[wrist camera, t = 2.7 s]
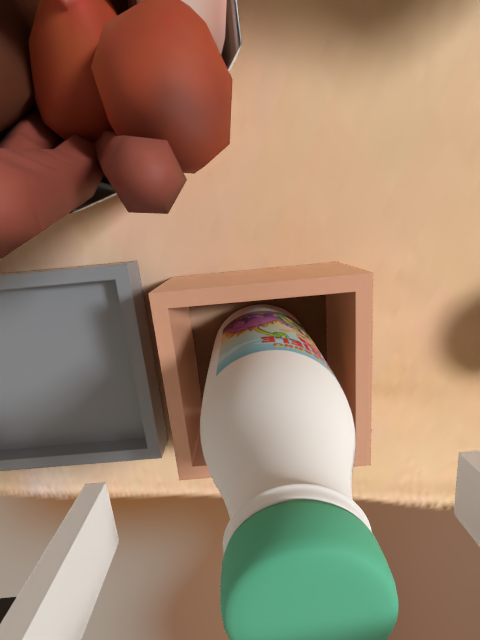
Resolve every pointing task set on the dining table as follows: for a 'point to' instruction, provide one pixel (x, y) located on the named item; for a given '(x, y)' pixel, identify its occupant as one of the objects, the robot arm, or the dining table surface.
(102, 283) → the tray
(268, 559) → the milk bottle
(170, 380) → the deep holder
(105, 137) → the bucket of meat
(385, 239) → the dining table surface
